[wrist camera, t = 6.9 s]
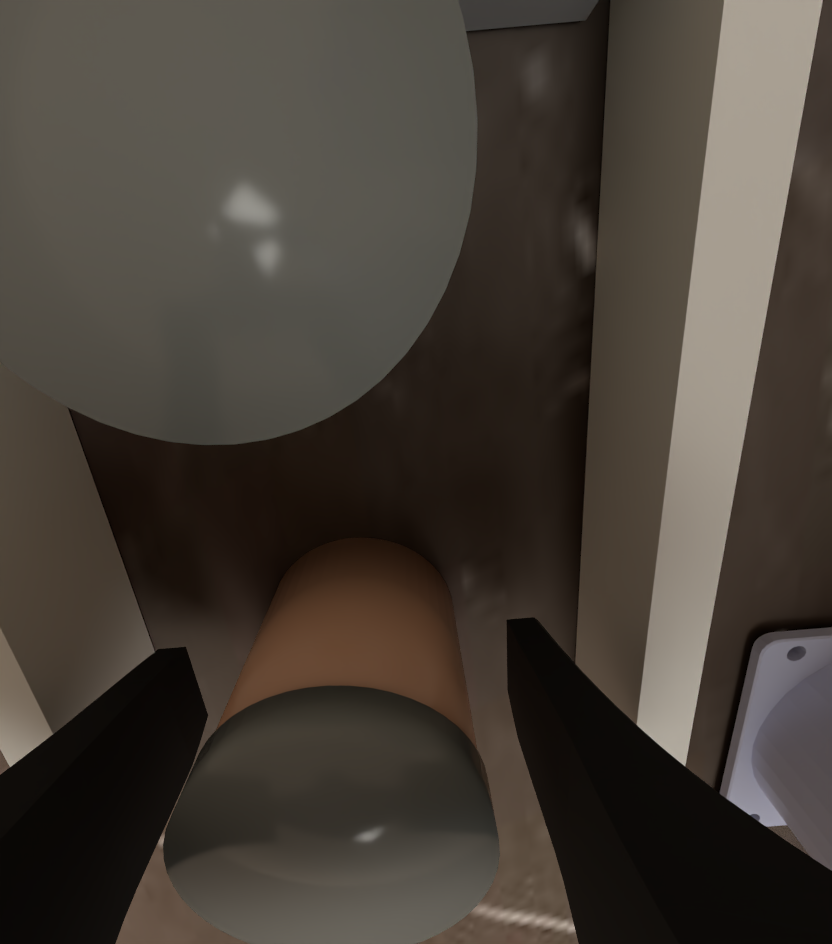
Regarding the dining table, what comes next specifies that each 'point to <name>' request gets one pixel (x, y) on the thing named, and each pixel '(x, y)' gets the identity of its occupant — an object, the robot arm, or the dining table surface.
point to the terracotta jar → (341, 766)
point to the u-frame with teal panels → (610, 400)
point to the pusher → (522, 12)
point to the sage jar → (227, 203)
